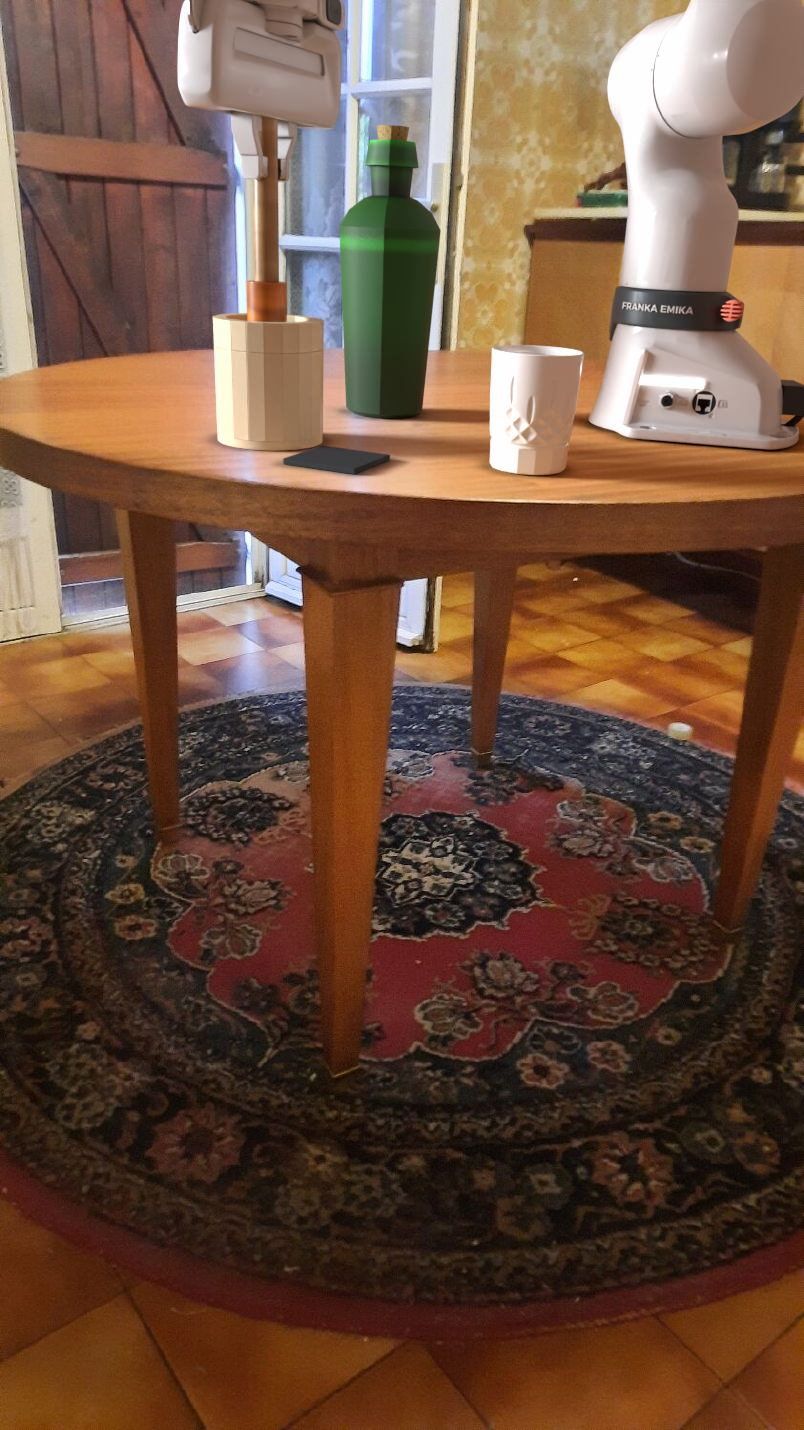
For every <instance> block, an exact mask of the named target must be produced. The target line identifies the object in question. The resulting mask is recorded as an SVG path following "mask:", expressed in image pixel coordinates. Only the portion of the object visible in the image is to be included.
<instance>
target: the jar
mask: <svg viewBox="0 0 804 1430" xmlns="http://www.w3.org/2000/svg"><path fill="white" fill-rule="evenodd" d="M324 323H325V320H323V319H322V318H320V317H315V316H308V315H300V314H299V315H298V314H288V313H287V322H259V321H247V312H239V313H237V312H236V313H235V312H234V313H219V314H216V315H212V324H213V325H212V328H213V329H212V331H213V357H214V381H215V382H214V384H215V386H214V387H215V409H216V410H215V411H216V412H215V413H216V430H217V431H216V432H217V433H216V434H217V441H218V442H219V443H220V444H222V445H224V446H228V447H232V448H236V449H243V450H253V451H271V452H272V451H273V452H277V451H280V452H281V451H282V452H283V451H296V450H304V449H310V448H311V449H312V448H315V447H318V446H320V445H321V444H322V443H323V435H324V355H325V354H324V348H325V347H324V343H325V341H324V333H325V332H324V331H325V329H324V328H325V327H324V326H325V324H324Z"/></svg>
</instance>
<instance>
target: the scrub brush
mask: <svg viewBox="0 0 804 1430" xmlns="http://www.w3.org/2000/svg"><path fill="white" fill-rule="evenodd" d="M258 135H259V139H260V144H261V149H262V153H263V156H266V157H268V167H267V170H268V176H267V178H266V179H265V180H255V179H252V219H253V220H252V221H253V222H252V223H253V224H252V225H253V271H254V273H253V274H254V279H252V280H251V279H250V280H247V281H246V313H247V321H259V322H287V314H288V284H287V282H286V281H280V244H279V243H280V239H279V238H280V235H279V234H280V231H279V230H280V229H279V226H280V225H279V223H280V221H279V218H280V217H279V182H278V119H274V118H270V117H265V116H262V131H261V132H258Z"/></svg>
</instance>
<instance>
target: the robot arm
mask: <svg viewBox="0 0 804 1430" xmlns="http://www.w3.org/2000/svg"><path fill="white" fill-rule="evenodd" d="M345 24H346V7H345V3H344V1H343V0H184V1H183V2H182V6H181V9H180V15H179V24H178V38H177V39H178V40H177V41H178V42H177V85H178V86H177V87H178V91H179V93H180V96H181V99H182V101H183V103H184V105H185V106H187V107H189V108H193V109H198V110H205V111H209V112H215V113H219V114H224V115H230V123H231V125H230V126H231V133H232V137H233V140H234V142H235V145H236V147H237V150H238V153H239V155H240V169H241V170H240V173H241V176H242V178H243V179H245V180H253V179H255V180H265V179H266V178H267V176H268V170H267V167H268V157H266V156H263V153H262V149H261V144H260V139H259V135H258V132H261V131H262V116H265V117H270V118H274V119H278V183H287V182H289V179H290V161H291V158H292V155H293V152H294V149H295V146H296V143H297V140H298V129H302V130H310V131H311V130H315V131H327V130H328V131H329V130H330V131H331V130H333V129H334V128H335V126H336V123H337V121H338V118H339V115H340V110H341V109H340V108H341V97H342V96H341V95H342V65H343V62H342V61H343V60H342V59H343V57H342V46H341V45H342V44H341V42H340V39H339V36H338V35H337V33H336V32H339V31H343V30H344V28H345ZM607 78H608V79H607V88H606V89H607V92H606V93H607V100H608V105H609V108H610V111H611V114H612V116H613V118H614V120H615V121H616V123H617V124H618V126H619V129H620V132H621V137H622V143H623V151H624V152H623V153H624V161H625V171H626V179H627V180H626V183H627V215H626V219H627V220H626V227H625V235H624V236H625V237H624V245H623V254H622V262H621V273H620V282H619V285H617V286H616V287H615V288H614V289H615V290H614V295H613V298H612V302H611V309H610V316H609V317H610V318H609V326H608V333H609V336H608V340H609V341H610V345H609V350H608V355H607V359H606V363H605V367H604V372H603V375H602V379H601V383H600V386H599V390H598V392H597V396H596V399H595V402H594V404H593V407H592V409H591V412H590V414H589V416H588V419H587V420H588V422H589V423H590V424H592V425H594V426H597V427H600V428H602V429H606V430H609V431H613V432H616V433H617V434H619V435H621V436H623V437H626V438H630V439H639V440H651V441H661V442H663V441H664V442H675V443H687V444H698V445H710V446H721V447H722V446H723V447H735V448H745V449H757V450H779V449H780V450H782V449H785V448H790V447H792V446H794V445H795V444H797V443H798V441H799V437H800V429H799V427H798V426H796V425H798V424H799V423H800V422H801V421H802V420H803V419H804V383H801V382H798V381H796V380H794V379H781V378H780V375H779V374H778V372H777V371H776V370H775V369H774V367H773V366H772V365H771V364H770V363H768V361H767V360H766V359H765V358H764V357H763V356H762V355H761V354H760V353H759V352H758V351H757V350H756V349H755V348H754V347H753V346H752V345H751V343H749V342H748V340H746V339H745V337H743V335H742V334H741V333H740V332H739V331H738V330H739V329H741V326H742V323H743V318H744V311H745V303H744V301H742V300H740V299H738V298H737V297H736V296H734V295H733V294H732V293H730V292H729V291H727V290H728V284H729V278H730V272H731V267H732V260H733V254H734V249H735V248H734V247H735V242H736V236H737V230H738V226H739V225H738V224H739V217H740V213H739V205H738V202H737V200H736V198H735V196H734V195H733V194H732V192H731V190H730V189H729V186H728V183H727V179H726V174H725V168H724V167H725V166H724V156H723V137H724V136H734V135H742V134H747V133H750V132H753V131H754V130H757V129H759V128H762V127H764V126H765V125H767V124H769V123H771V122H774V121H775V120H777V119H779V118H781V117H783V116H784V115H786V114H787V113H789V112H790V111H791V110H792V109H793V108H795V106H797V105H798V103H799V102H800V100H801V99H802V98H803V97H804V3H803V0H690V1H689V4H688V6H687V8H686V10H685V11H683V12H679V13H676V14H673V15H668V16H666V17H663V18H660V19H657V20H655V21H652V22H650V23H649V24H648V25H647V26H645V27H644V28H643V29H641V30H640V31H639V32H638V33H636V34H635V35H634V36H633V37H631V38H630V39H629V40H628V41H627V42H626V43H625V44H624V45H623V46H622V47H621V48H620V50H619V51H618V52H617V54H616V55H615V57H614V59H613V61H612V64H611V66H610V70H609V73H608V77H607ZM783 416H793V417H791V418H790V419H789V420H788V421H782V419H783V418H782V417H783Z"/></svg>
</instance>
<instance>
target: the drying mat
mask: <svg viewBox="0 0 804 1430" xmlns="http://www.w3.org/2000/svg"><path fill="white" fill-rule="evenodd" d="M282 460H283V461H282V464H283V465H287V466H294V467H301V468H308V469H314V470H320V471H321V470H322V471H327V472H328V471H329V472H335V473H341V474H349V475H356V474H359V473H361V472H363V471H366V470H369V469H372V468H374V467H376V466H379V465H381V464H384V463H387V462H389V461H390V460H391V455H390V454H389V453H388V454H386V453H379V452H371V451H365V450H358V449H351V448H344V447H336V446H329V445H319V446H316V447H313V448H311V449H308V450H304V451H301V452H299V453H296V454H293V455H290V456H287V457H284V458H283V459H282Z"/></svg>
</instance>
